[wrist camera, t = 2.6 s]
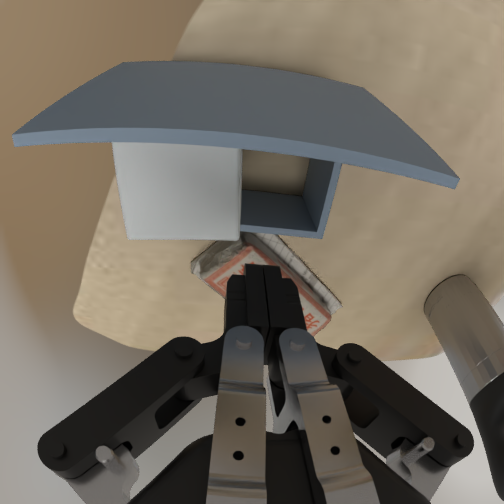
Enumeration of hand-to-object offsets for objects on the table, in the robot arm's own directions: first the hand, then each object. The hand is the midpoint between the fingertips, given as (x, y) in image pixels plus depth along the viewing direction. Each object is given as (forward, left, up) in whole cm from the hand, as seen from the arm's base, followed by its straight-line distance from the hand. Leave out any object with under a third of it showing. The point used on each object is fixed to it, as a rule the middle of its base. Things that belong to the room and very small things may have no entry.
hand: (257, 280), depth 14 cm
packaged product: (-5, +15, -19) cm, 25 cm away
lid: (+1, -7, -5) cm, 9 cm away
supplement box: (+4, -2, -18) cm, 19 cm away
